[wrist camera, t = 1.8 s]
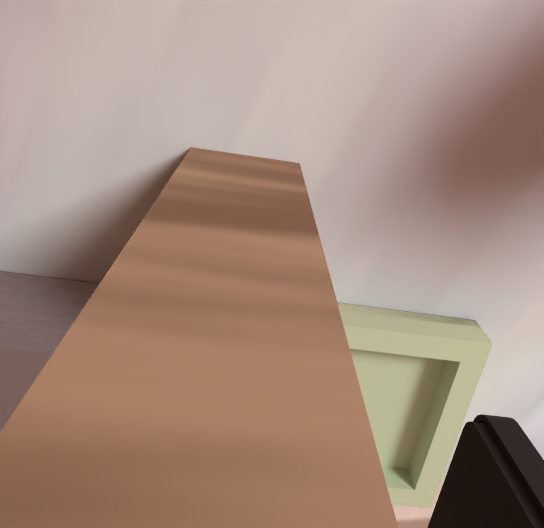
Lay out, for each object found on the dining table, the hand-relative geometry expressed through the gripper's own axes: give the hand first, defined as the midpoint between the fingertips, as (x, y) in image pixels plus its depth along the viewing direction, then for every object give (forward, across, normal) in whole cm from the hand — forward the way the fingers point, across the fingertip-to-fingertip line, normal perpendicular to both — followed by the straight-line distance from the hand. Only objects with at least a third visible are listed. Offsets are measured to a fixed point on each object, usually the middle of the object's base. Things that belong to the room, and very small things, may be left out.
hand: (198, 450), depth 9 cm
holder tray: (+12, -6, +7) cm, 15 cm away
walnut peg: (+12, 0, -1) cm, 12 cm away
